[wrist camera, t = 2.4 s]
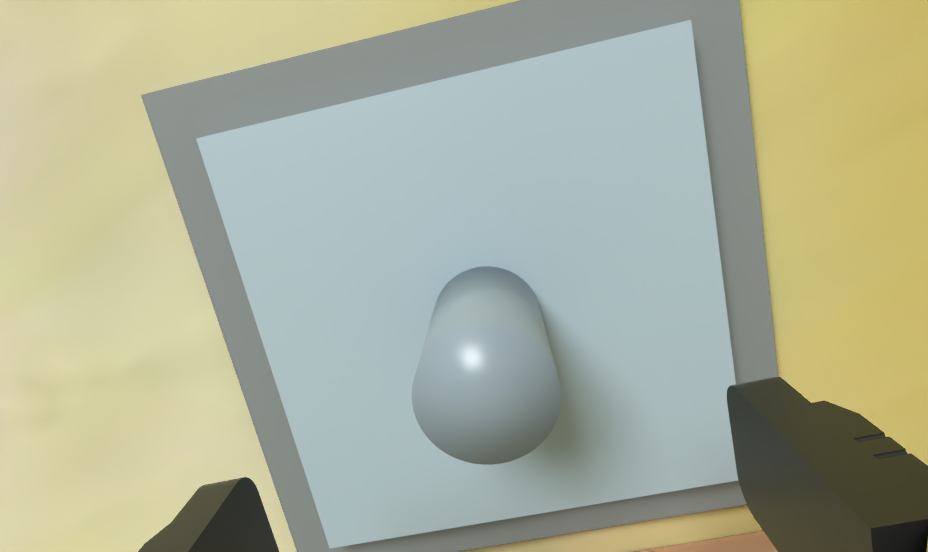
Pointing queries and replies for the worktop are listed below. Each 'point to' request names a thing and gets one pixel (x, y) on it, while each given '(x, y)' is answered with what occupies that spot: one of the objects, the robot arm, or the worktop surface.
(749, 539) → the dish
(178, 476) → the worktop surface
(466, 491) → the lid
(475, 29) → the mat
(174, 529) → the robot arm
